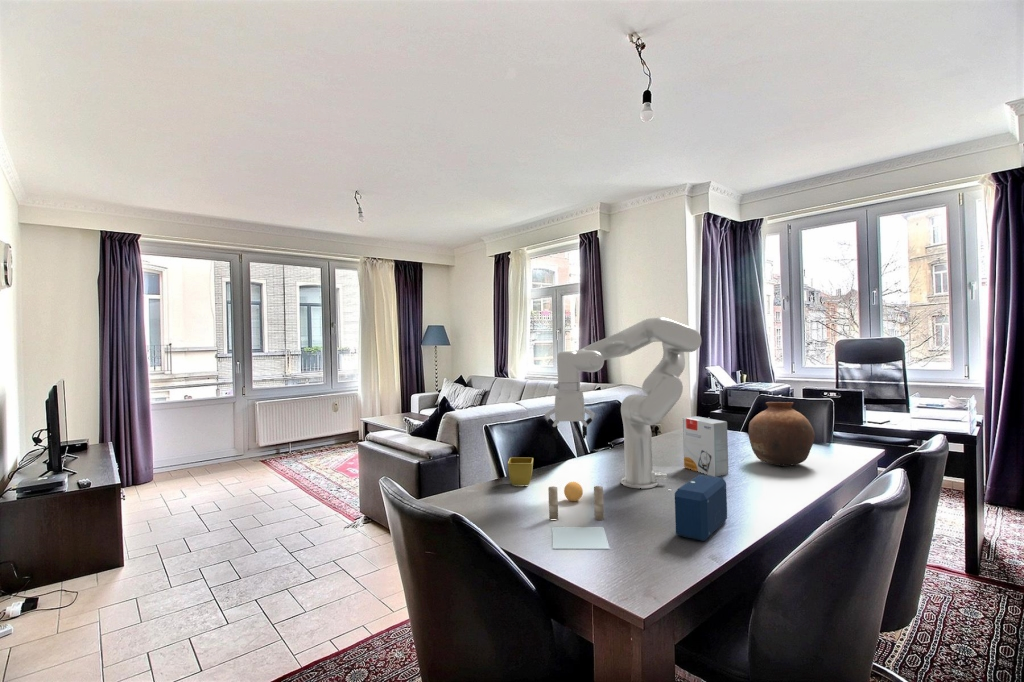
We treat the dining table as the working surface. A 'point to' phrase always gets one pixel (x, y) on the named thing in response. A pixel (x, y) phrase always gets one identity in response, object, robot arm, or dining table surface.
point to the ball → (573, 491)
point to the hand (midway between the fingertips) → (570, 437)
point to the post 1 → (553, 502)
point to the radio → (700, 507)
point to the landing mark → (579, 538)
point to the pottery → (781, 435)
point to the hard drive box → (705, 445)
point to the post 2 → (598, 503)
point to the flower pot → (520, 470)
